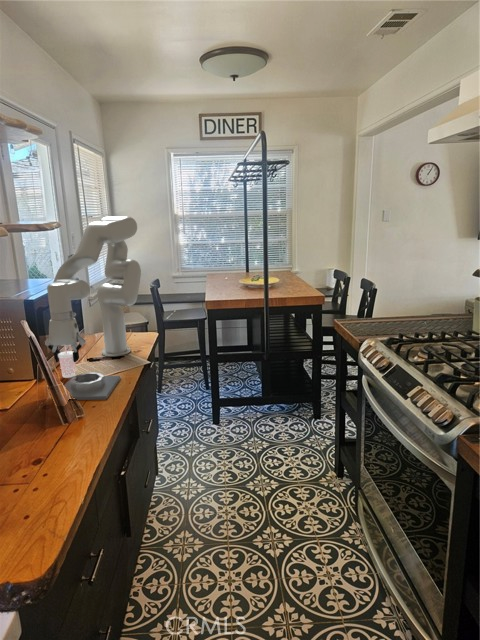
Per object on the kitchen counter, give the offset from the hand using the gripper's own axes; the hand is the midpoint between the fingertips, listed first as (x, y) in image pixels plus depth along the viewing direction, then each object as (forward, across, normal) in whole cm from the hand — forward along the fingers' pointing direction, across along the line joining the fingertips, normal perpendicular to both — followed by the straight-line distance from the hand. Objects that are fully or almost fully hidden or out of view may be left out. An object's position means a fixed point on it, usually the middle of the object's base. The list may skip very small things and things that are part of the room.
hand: (67, 360), depth 157 cm
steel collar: (+5, -12, +13) cm, 18 cm away
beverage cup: (+6, 0, 0) cm, 6 cm away
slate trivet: (+6, -12, +13) cm, 19 cm away
